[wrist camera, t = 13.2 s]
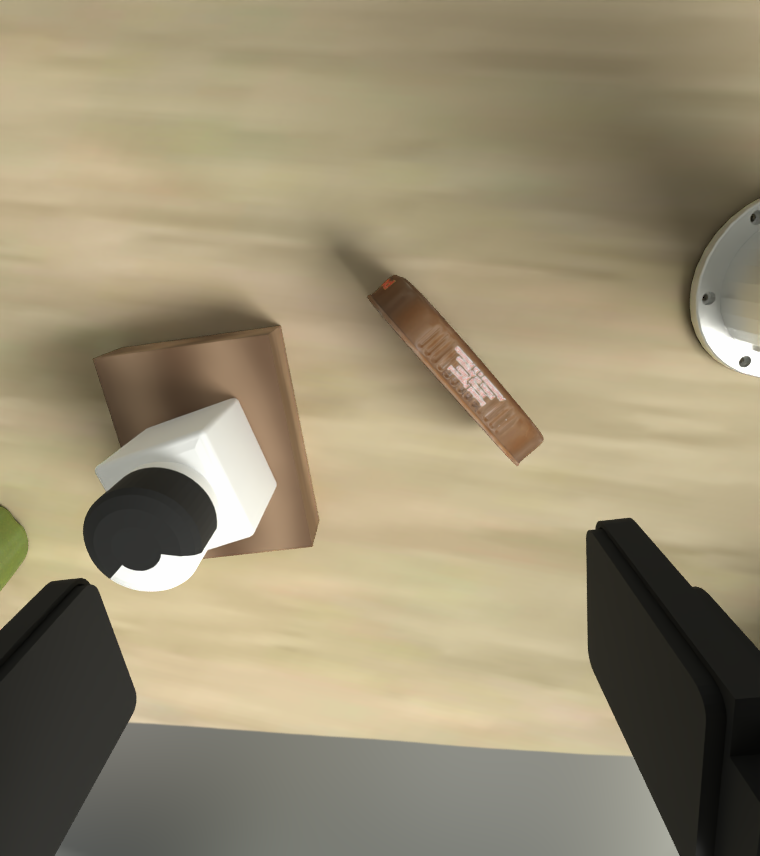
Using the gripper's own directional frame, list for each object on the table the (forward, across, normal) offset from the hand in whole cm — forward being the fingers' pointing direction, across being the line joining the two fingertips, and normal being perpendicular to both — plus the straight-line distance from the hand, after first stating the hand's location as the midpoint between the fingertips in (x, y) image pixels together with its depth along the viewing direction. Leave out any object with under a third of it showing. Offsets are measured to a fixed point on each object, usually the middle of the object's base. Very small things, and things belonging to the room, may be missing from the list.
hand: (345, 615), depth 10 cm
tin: (+31, -5, +2) cm, 31 cm away
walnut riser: (+30, +13, +6) cm, 34 cm away
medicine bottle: (+26, +13, +6) cm, 30 cm away
